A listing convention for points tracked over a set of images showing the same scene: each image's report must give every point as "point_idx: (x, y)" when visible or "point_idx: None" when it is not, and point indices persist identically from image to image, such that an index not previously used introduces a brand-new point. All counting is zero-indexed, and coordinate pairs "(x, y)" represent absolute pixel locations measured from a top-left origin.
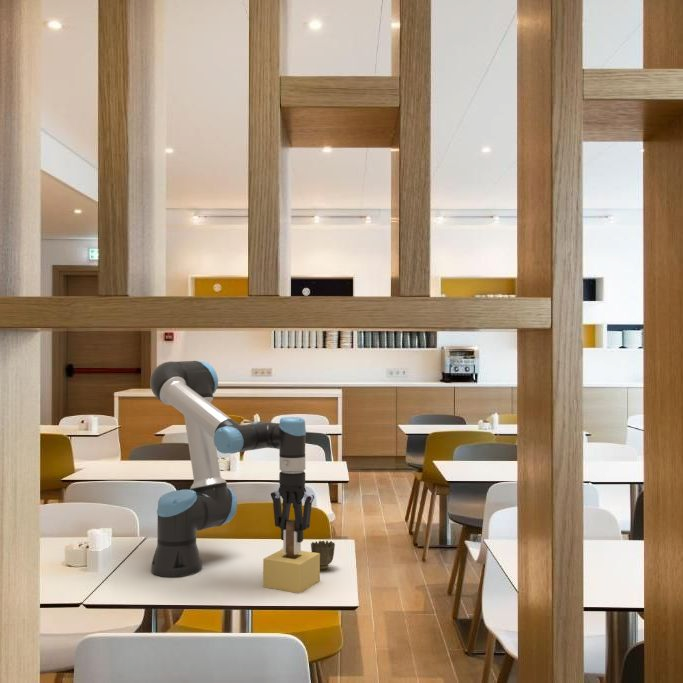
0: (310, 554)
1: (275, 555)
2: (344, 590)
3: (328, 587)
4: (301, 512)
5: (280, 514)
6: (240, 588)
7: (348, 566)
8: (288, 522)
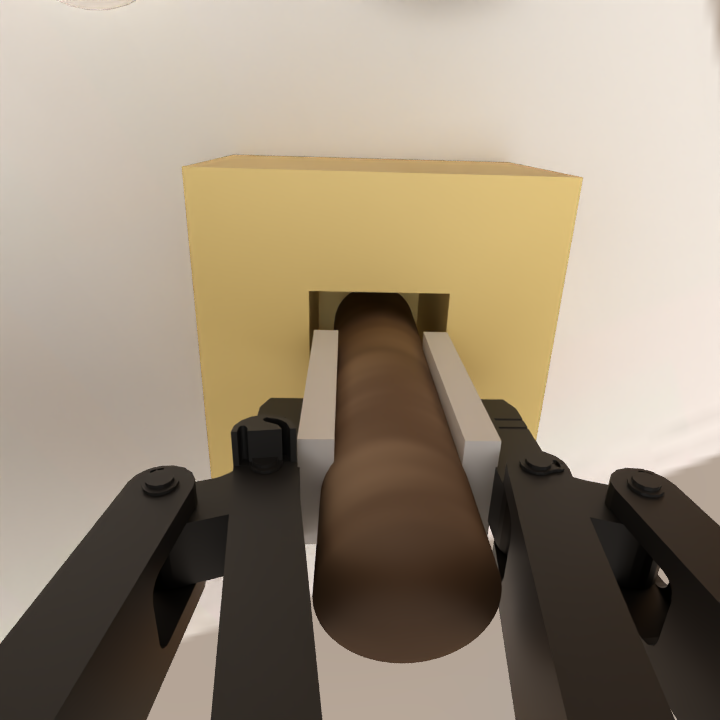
0: (510, 251)
1: (245, 398)
2: (705, 266)
3: (600, 258)
4: (649, 703)
5: (131, 642)
6: (155, 463)
7: None
8: (388, 653)
